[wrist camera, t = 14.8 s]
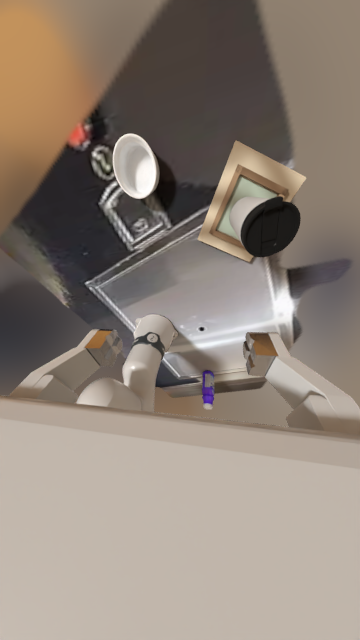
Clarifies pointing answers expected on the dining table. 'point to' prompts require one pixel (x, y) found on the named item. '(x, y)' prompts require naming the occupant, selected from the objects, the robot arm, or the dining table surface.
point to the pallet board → (245, 194)
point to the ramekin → (135, 166)
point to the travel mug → (264, 224)
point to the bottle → (208, 389)
